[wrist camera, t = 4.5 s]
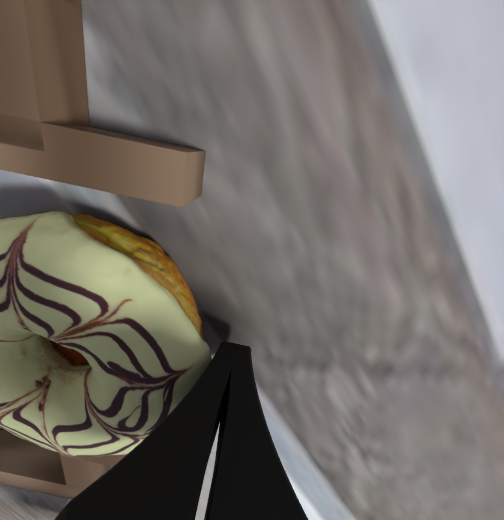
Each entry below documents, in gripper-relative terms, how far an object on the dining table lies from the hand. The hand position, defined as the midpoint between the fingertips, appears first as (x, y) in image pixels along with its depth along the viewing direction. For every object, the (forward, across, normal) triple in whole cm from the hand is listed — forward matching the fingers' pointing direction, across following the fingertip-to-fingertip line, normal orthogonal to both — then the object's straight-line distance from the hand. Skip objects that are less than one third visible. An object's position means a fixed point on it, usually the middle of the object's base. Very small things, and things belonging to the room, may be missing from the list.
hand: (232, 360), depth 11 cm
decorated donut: (+1, +6, 0) cm, 6 cm away
